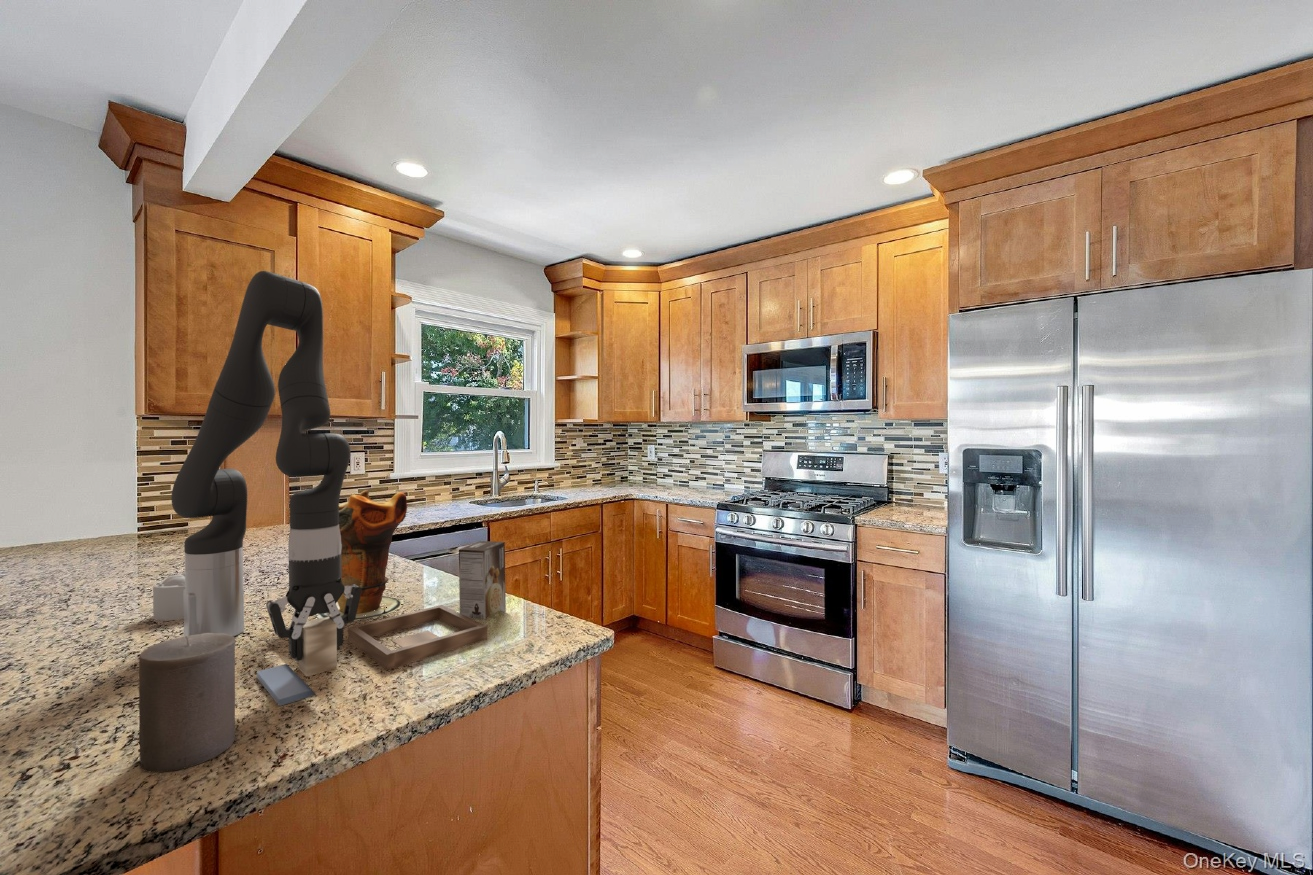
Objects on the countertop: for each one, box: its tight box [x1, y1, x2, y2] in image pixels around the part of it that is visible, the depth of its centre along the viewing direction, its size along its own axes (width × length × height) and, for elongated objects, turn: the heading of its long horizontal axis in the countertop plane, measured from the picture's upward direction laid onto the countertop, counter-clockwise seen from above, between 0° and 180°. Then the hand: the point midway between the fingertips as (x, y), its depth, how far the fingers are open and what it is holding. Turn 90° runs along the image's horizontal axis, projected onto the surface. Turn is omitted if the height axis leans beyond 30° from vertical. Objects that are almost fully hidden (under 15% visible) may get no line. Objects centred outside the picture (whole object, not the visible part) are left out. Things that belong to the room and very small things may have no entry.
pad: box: [256, 663, 317, 707], centre depth 95 cm, size 14×14×1 cm
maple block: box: [297, 617, 338, 677], centre depth 95 cm, size 4×4×8 cm
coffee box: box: [458, 540, 507, 620], centre depth 123 cm, size 9×6×16 cm
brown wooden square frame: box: [347, 604, 488, 671], centre depth 107 cm, size 18×18×4 cm
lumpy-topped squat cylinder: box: [152, 571, 185, 621], centre depth 128 cm, size 10×13×9 cm
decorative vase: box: [315, 489, 408, 622], centre depth 130 cm, size 21×23×28 cm
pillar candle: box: [138, 633, 236, 773], centre depth 73 cm, size 10×10×15 cm
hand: (316, 653), depth 95 cm, fingers open, 5 cm apart
